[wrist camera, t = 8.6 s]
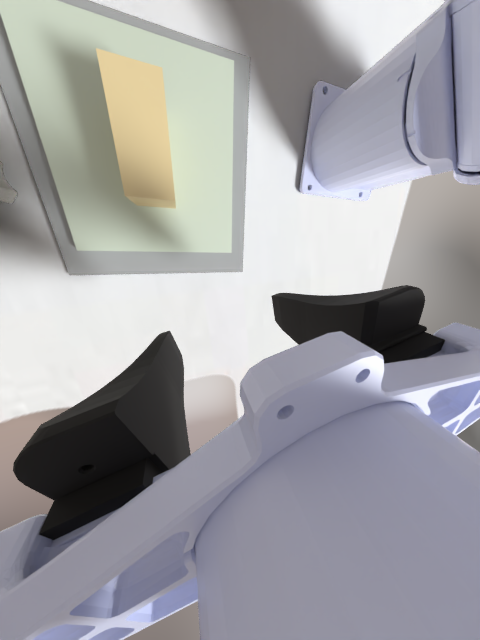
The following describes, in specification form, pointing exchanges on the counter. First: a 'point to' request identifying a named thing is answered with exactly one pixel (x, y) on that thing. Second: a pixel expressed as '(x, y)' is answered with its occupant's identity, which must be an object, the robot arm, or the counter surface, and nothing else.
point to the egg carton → (6, 189)
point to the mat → (6, 73)
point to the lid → (128, 128)
